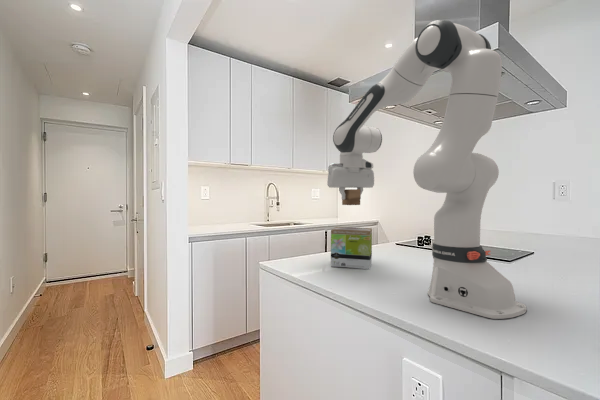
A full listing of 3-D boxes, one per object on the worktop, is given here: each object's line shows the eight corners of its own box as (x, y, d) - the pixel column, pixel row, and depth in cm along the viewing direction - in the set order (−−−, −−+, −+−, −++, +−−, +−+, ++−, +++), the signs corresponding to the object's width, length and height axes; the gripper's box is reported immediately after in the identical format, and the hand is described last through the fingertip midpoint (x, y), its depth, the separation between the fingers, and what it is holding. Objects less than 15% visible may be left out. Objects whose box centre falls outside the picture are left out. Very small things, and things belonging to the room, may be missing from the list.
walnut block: (360, 204, 121) (360, 189, 121) (349, 205, 118) (349, 189, 118) (352, 204, 125) (352, 189, 125) (342, 204, 123) (342, 189, 123)
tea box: (330, 267, 119) (330, 229, 119) (335, 262, 129) (334, 226, 129) (370, 269, 115) (370, 229, 115) (372, 264, 125) (372, 227, 124)
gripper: (333, 162, 114) (333, 199, 114) (376, 164, 123) (376, 199, 123) (324, 163, 119) (324, 199, 120) (366, 165, 129) (366, 199, 129)
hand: (351, 199), depth 122 cm, fingers closed on walnut block, 5 cm apart
